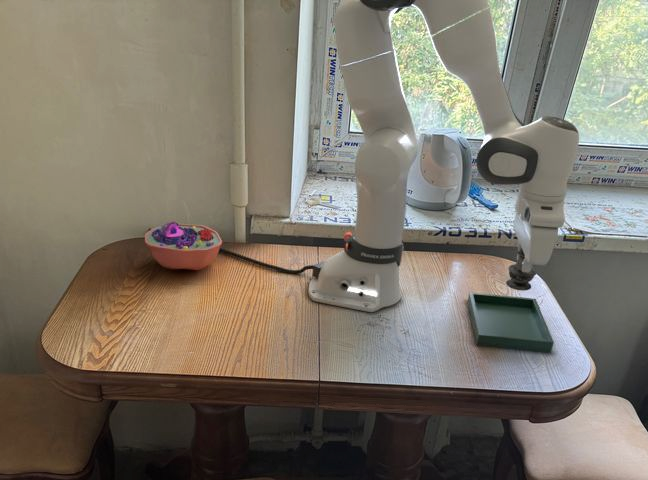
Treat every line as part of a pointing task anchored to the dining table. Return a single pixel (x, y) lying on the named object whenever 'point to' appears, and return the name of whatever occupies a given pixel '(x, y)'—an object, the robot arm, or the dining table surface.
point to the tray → (508, 322)
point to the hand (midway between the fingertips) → (523, 266)
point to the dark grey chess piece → (520, 275)
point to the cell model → (183, 245)
